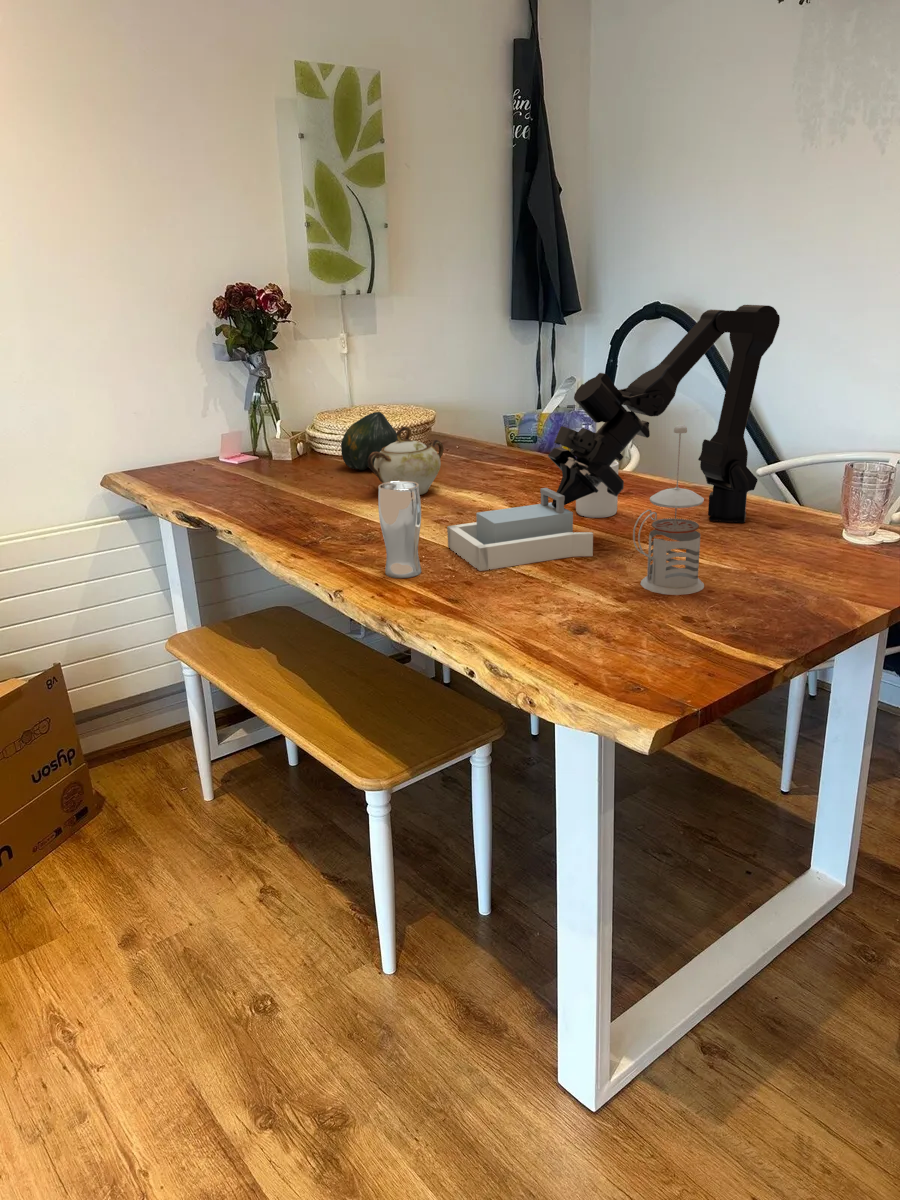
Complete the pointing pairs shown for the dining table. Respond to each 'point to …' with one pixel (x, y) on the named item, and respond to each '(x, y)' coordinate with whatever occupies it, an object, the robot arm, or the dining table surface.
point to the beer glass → (400, 527)
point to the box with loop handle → (525, 520)
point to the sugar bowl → (407, 461)
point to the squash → (366, 440)
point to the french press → (673, 542)
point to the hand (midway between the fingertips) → (554, 506)
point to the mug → (598, 501)
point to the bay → (516, 547)
